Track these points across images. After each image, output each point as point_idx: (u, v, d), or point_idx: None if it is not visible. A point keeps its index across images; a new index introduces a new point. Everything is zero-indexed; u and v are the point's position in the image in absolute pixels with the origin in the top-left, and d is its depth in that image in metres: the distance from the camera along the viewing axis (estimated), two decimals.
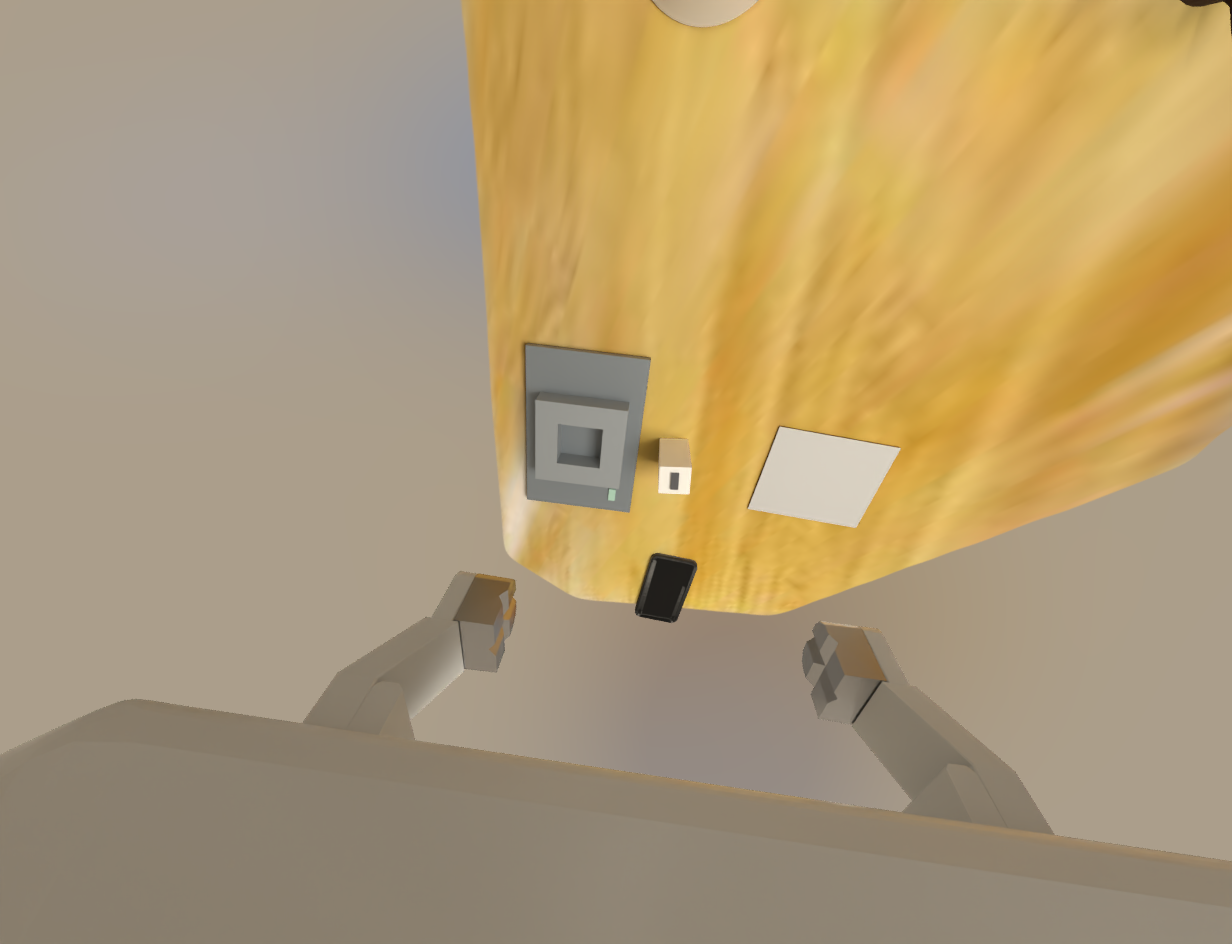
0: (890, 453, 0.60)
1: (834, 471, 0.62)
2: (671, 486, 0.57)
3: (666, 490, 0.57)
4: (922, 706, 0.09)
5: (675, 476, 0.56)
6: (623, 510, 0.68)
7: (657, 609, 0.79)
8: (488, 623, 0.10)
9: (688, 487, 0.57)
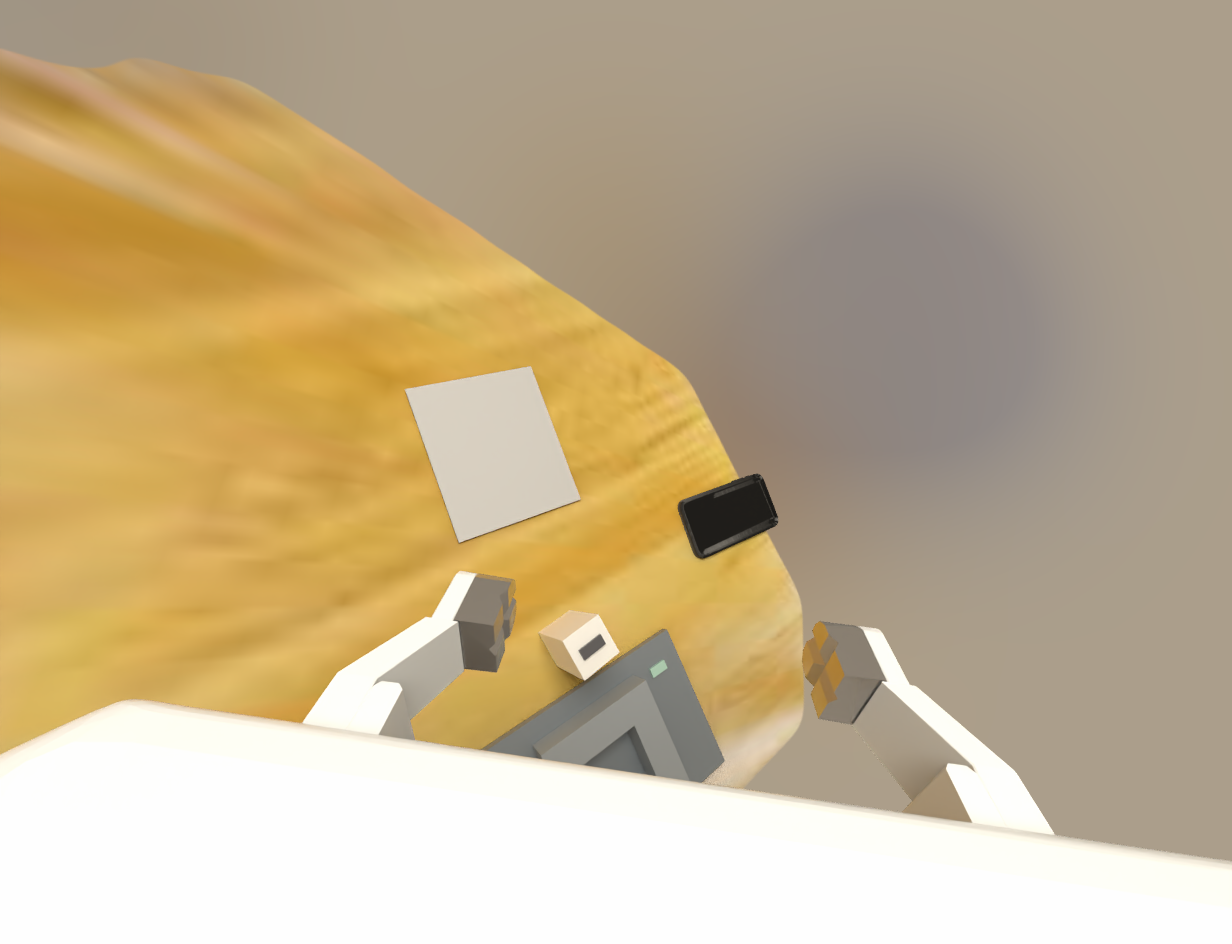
0: (418, 395, 0.46)
1: (477, 439, 0.47)
2: (600, 646, 0.40)
3: (610, 645, 0.40)
4: (922, 706, 0.09)
5: (585, 652, 0.39)
6: (668, 638, 0.51)
7: (757, 504, 0.61)
8: (488, 623, 0.10)
9: (590, 622, 0.40)
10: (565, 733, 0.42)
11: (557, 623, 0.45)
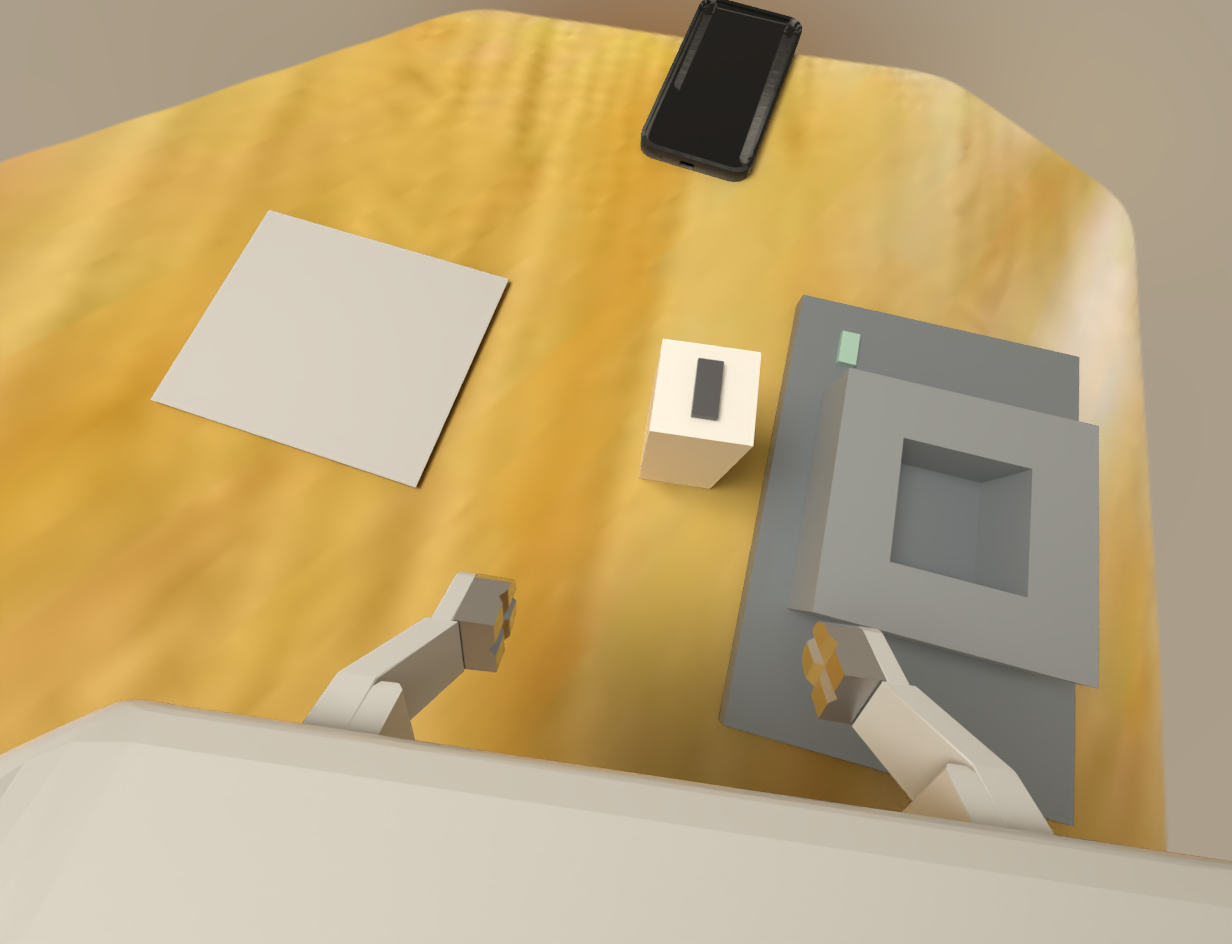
0: (174, 388, 0.26)
1: (301, 356, 0.26)
2: (720, 373, 0.17)
3: (734, 358, 0.18)
4: (922, 706, 0.09)
5: (704, 406, 0.17)
6: (818, 301, 0.26)
7: (746, 34, 0.32)
8: (488, 623, 0.10)
9: (663, 362, 0.18)
10: (814, 549, 0.21)
11: None
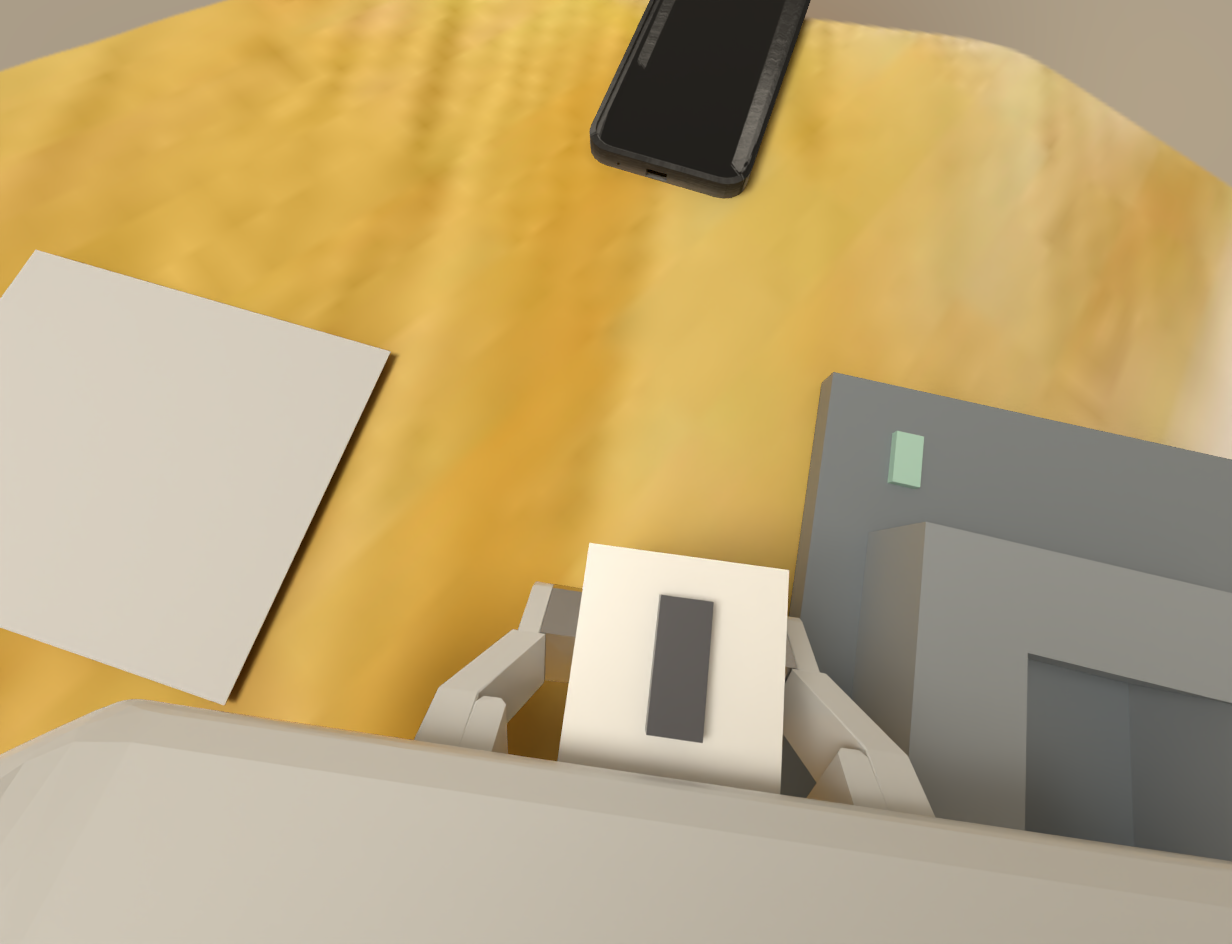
0: None
1: (61, 482, 0.17)
2: (706, 631, 0.08)
3: (735, 586, 0.09)
4: (827, 692, 0.09)
5: (674, 714, 0.08)
6: (857, 382, 0.17)
7: None
8: (575, 635, 0.10)
9: (590, 597, 0.09)
10: None
11: None
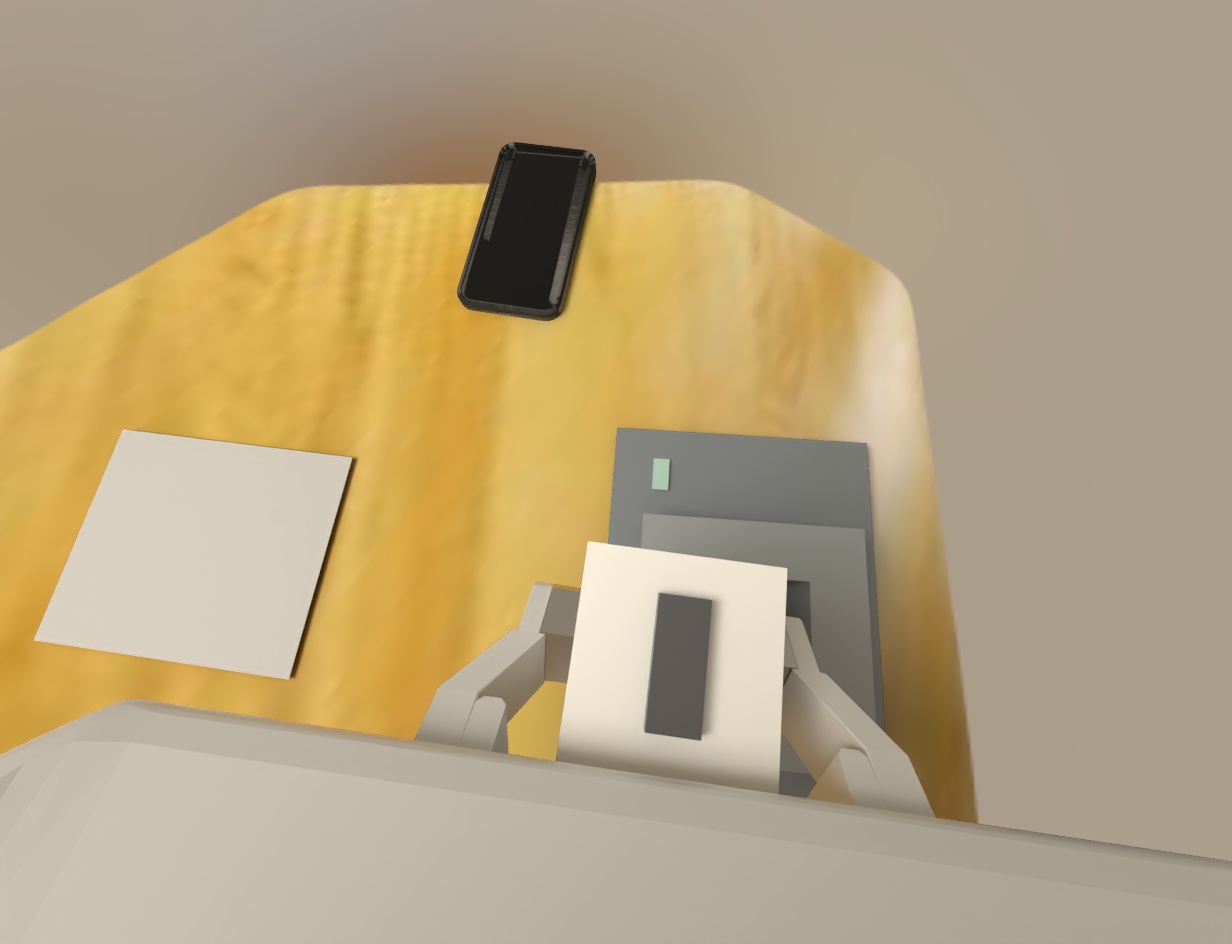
0: (54, 623, 0.28)
1: (169, 570, 0.28)
2: (704, 629, 0.08)
3: (733, 584, 0.09)
4: (828, 692, 0.09)
5: (672, 712, 0.08)
6: (631, 432, 0.29)
7: (545, 174, 0.35)
8: None
9: (589, 595, 0.09)
10: None
11: None
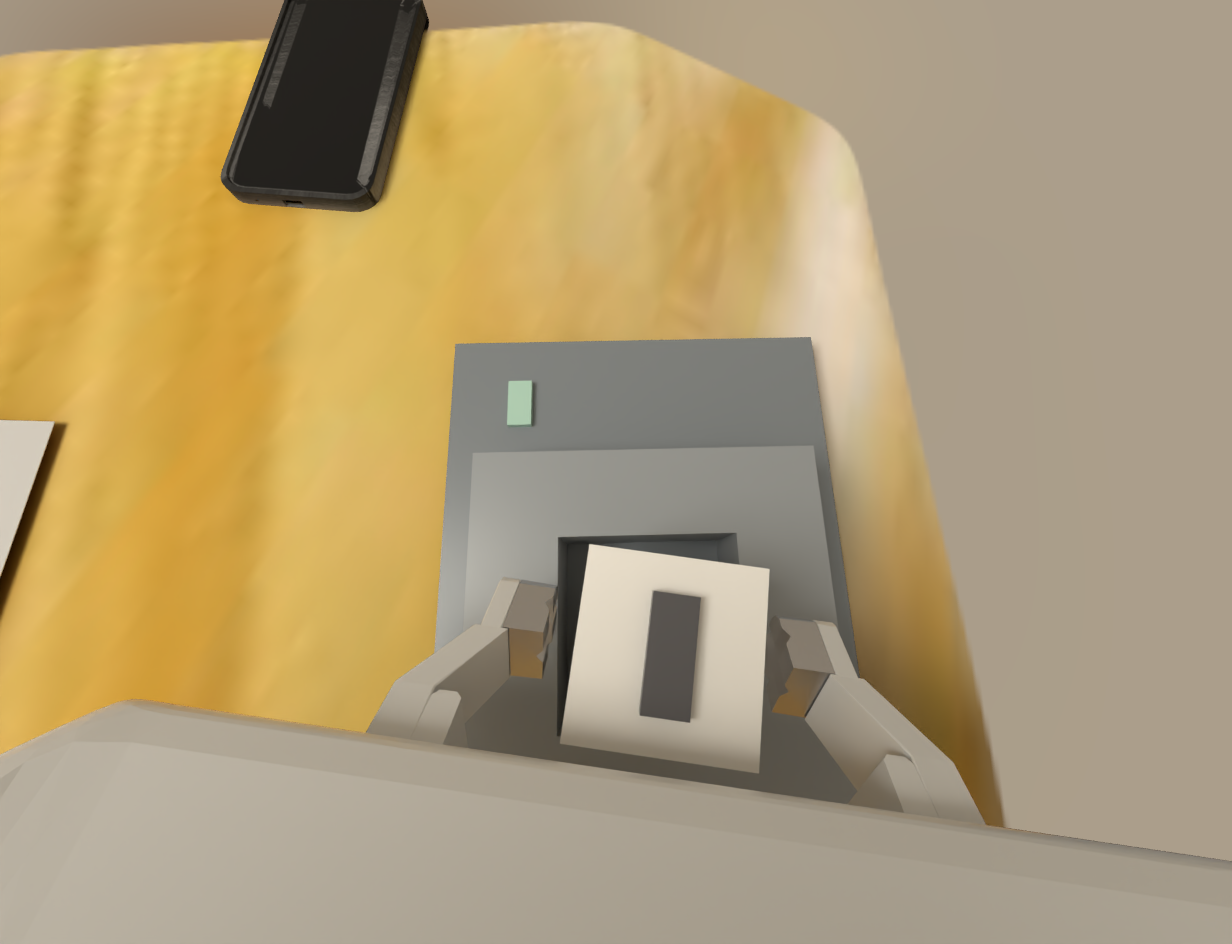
0: None
1: None
2: (694, 623, 0.09)
3: (720, 583, 0.10)
4: (868, 698, 0.09)
5: (664, 697, 0.09)
6: (476, 348, 0.20)
7: (353, 19, 0.25)
8: (538, 630, 0.10)
9: (590, 593, 0.10)
10: None
11: None
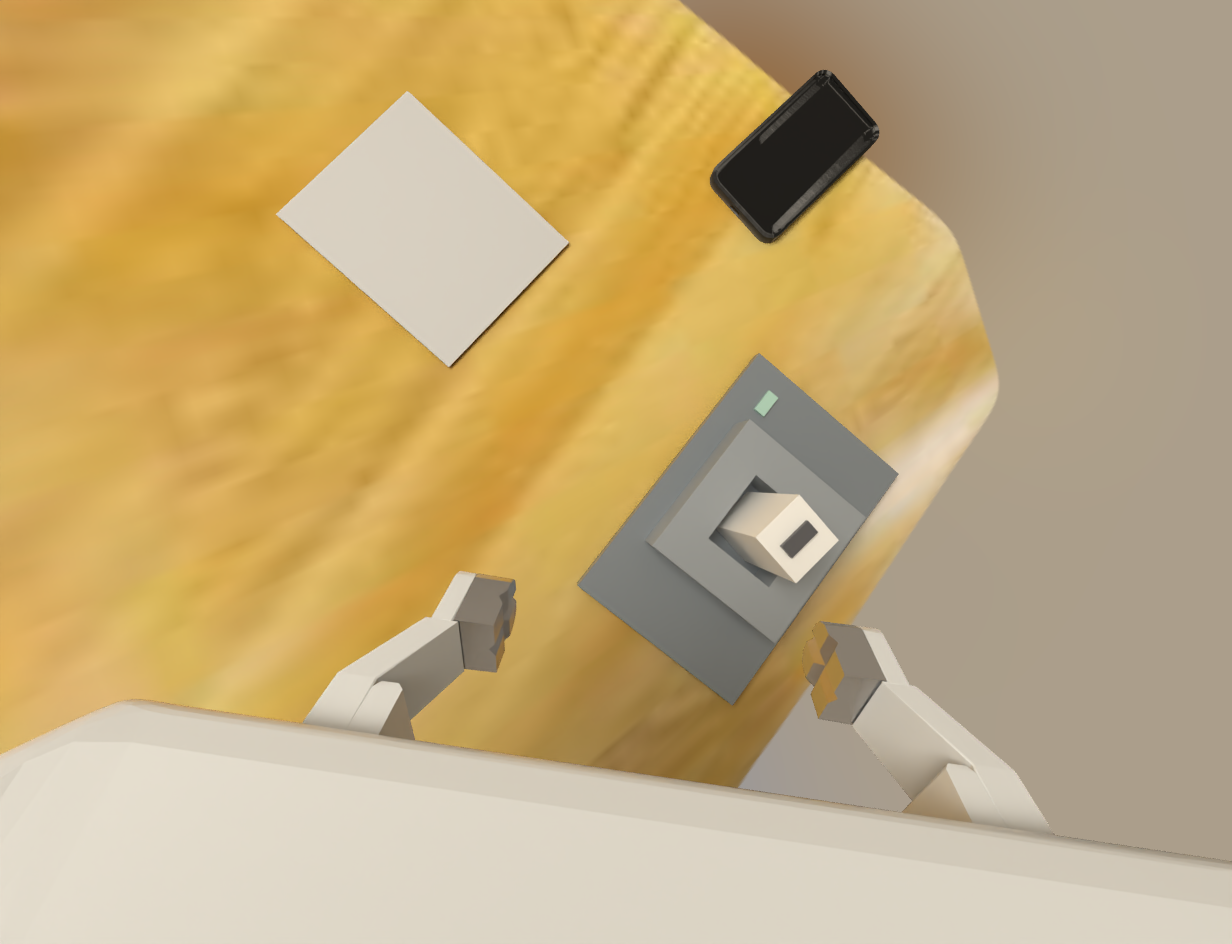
0: (296, 213, 0.33)
1: (398, 232, 0.34)
2: (811, 536, 0.28)
3: (823, 533, 0.28)
4: (923, 706, 0.09)
5: (790, 547, 0.28)
6: (766, 362, 0.37)
7: (836, 120, 0.38)
8: (488, 623, 0.10)
9: (789, 507, 0.28)
10: (673, 514, 0.33)
11: (736, 511, 0.34)
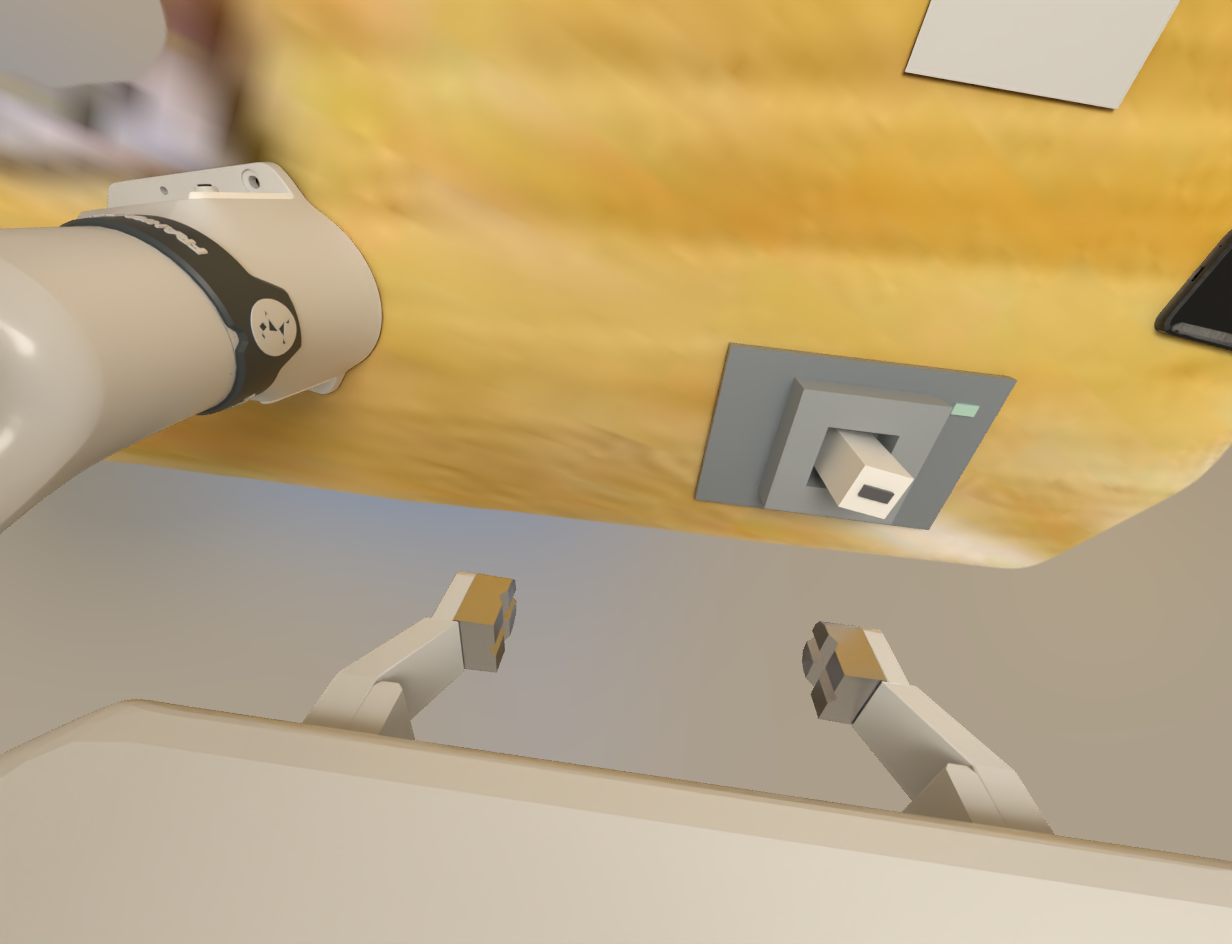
0: None
1: None
2: (881, 501, 0.35)
3: (886, 507, 0.35)
4: (922, 705, 0.09)
5: (867, 492, 0.34)
6: (1008, 390, 0.37)
7: None
8: (488, 623, 0.10)
9: (900, 477, 0.34)
10: (835, 389, 0.37)
11: (855, 434, 0.39)
